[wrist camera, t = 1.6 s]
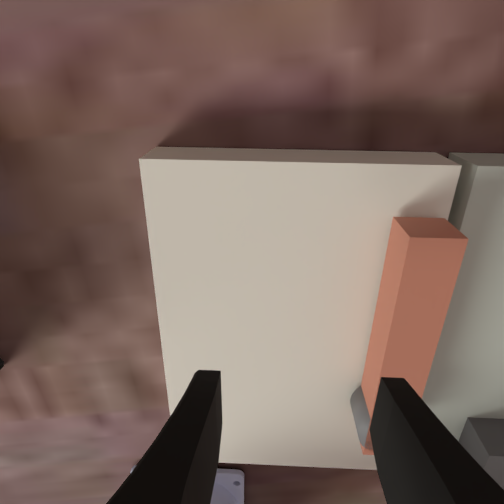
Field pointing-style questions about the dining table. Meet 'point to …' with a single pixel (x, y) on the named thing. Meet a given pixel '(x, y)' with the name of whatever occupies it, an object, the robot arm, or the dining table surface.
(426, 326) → the bar
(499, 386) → the pale square platform
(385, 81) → the dining table surface
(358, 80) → the dining table surface
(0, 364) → the ammunition clip
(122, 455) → the dining table surface
